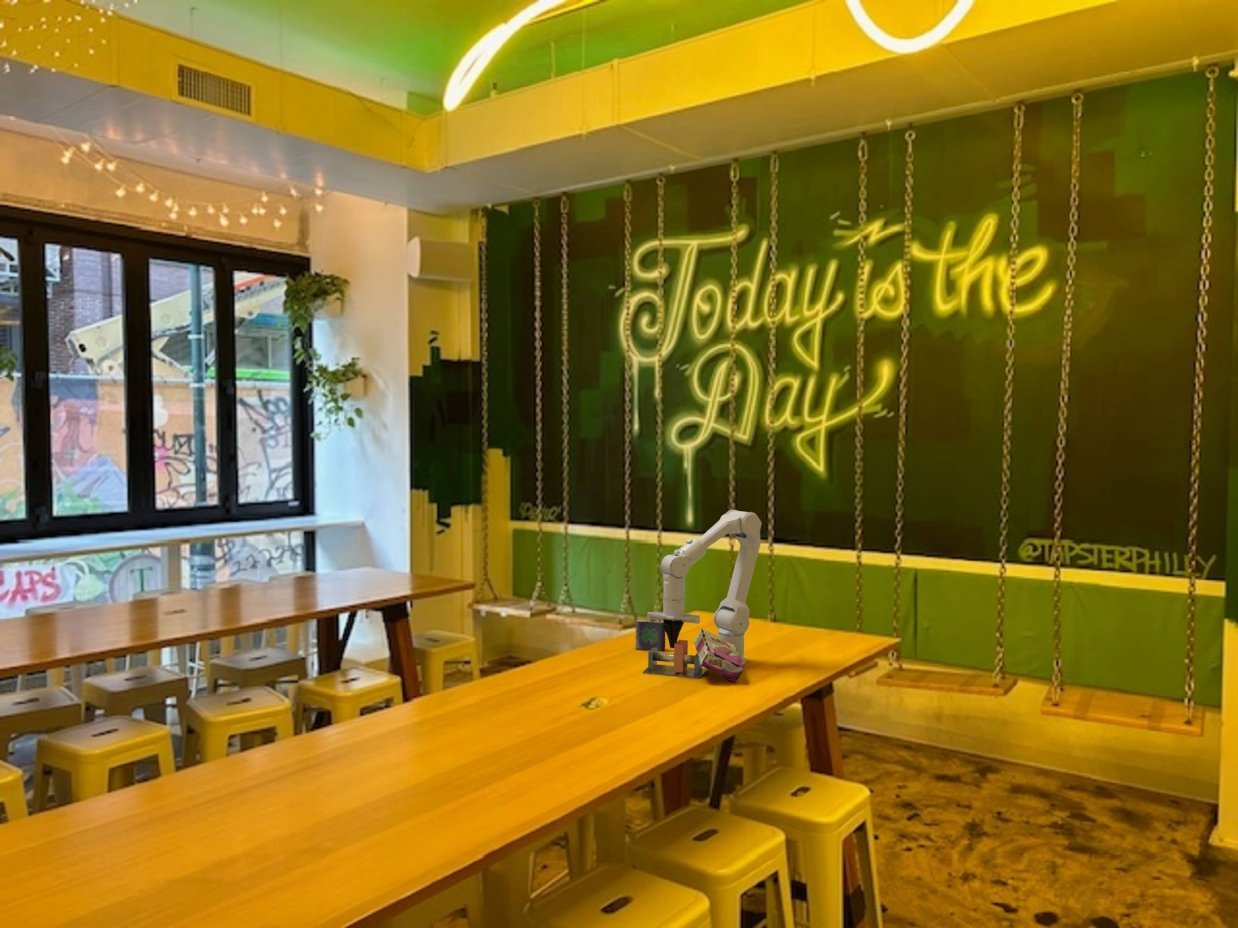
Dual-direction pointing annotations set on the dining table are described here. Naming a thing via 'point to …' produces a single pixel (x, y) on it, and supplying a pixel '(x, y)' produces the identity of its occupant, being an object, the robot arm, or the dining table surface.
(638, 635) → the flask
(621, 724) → the dining table surface
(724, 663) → the candy bar box
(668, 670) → the pipe rig
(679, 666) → the orange block
